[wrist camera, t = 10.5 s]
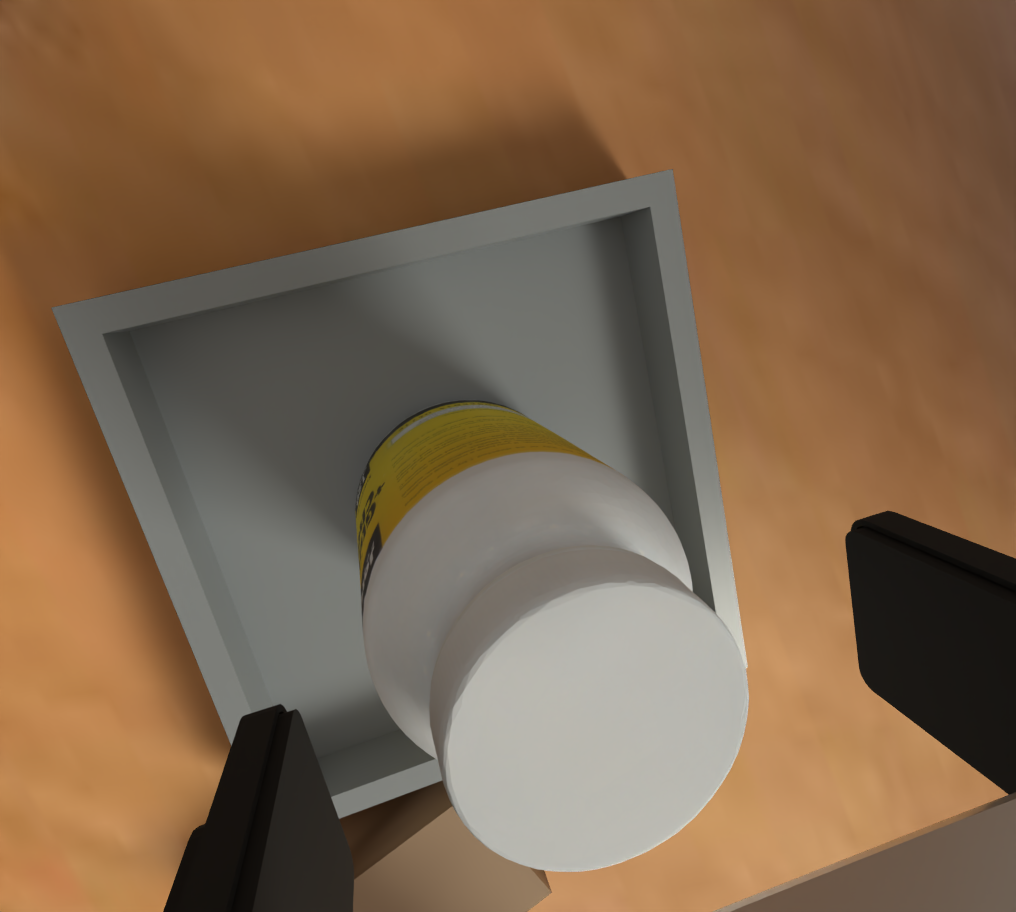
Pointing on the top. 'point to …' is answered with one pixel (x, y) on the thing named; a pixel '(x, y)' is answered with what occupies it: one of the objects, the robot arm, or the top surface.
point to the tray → (387, 427)
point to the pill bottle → (542, 638)
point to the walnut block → (432, 861)
